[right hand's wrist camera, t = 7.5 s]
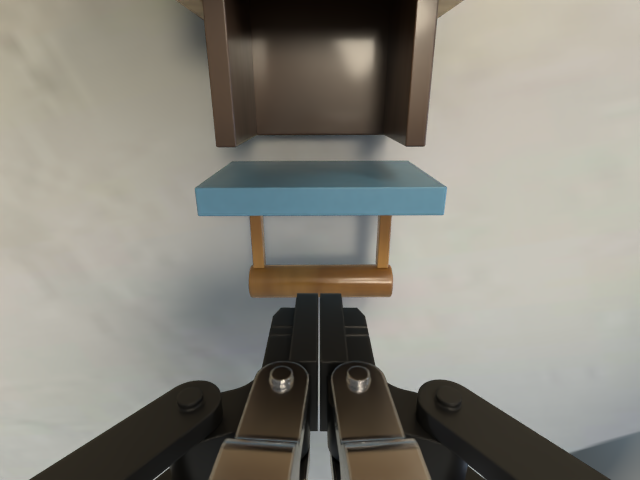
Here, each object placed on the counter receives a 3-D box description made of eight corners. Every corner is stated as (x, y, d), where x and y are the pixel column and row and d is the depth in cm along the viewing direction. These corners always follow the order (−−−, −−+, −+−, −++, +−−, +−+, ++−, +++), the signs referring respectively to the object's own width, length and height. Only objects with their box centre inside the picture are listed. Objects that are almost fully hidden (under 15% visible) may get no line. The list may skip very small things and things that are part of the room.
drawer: (399, 269, 24) (430, 332, 17) (240, 269, 24) (212, 333, 17) (433, -156, 17) (507, -320, 10) (205, -156, 17) (131, -320, 10)
